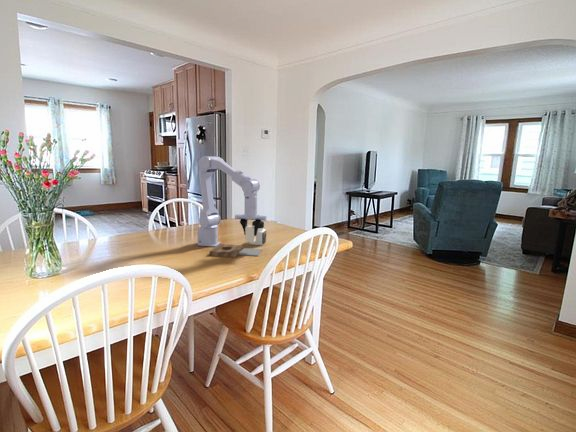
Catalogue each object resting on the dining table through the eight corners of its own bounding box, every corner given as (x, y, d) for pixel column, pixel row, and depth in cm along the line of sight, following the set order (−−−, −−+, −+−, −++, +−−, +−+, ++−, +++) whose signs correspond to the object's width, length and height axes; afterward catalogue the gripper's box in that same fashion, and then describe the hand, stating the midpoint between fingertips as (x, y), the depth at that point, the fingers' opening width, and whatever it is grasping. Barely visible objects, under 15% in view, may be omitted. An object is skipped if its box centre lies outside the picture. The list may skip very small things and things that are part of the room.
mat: (238, 254, 145) (238, 253, 145) (243, 249, 154) (243, 248, 153) (257, 256, 144) (257, 255, 144) (261, 250, 153) (261, 249, 152)
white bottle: (262, 245, 160) (262, 222, 158) (249, 244, 162) (249, 221, 159) (266, 242, 167) (266, 220, 165) (253, 241, 168) (253, 219, 166)
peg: (245, 242, 146) (245, 227, 144) (247, 239, 150) (247, 225, 148) (253, 242, 145) (253, 227, 144) (255, 240, 149) (255, 225, 148)
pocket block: (209, 255, 143) (209, 251, 142) (218, 247, 155) (218, 243, 154) (235, 257, 141) (235, 252, 141) (242, 249, 153) (242, 245, 153)
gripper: (232, 206, 141) (233, 236, 144) (264, 208, 140) (264, 238, 142) (237, 204, 148) (237, 232, 151) (267, 205, 147) (267, 234, 149)
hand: (250, 235), depth 147 cm, fingers closed on peg, 4 cm apart
